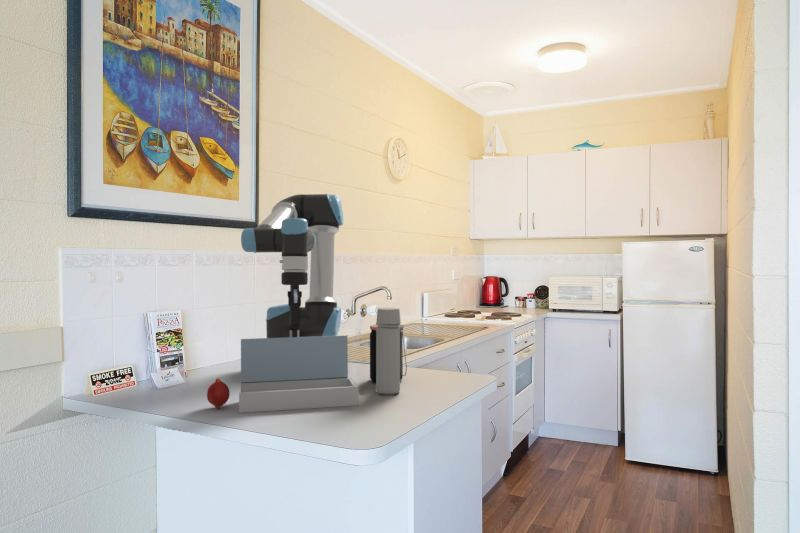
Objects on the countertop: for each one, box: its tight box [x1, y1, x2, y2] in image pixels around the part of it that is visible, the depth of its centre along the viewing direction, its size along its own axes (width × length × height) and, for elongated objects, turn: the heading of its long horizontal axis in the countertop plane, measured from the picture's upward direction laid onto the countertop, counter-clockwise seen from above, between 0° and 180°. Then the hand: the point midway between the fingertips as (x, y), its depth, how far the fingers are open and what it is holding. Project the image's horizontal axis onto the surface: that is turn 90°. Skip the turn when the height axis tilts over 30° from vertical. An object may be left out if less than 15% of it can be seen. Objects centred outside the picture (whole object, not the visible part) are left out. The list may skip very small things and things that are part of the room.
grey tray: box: [238, 377, 360, 414], centre depth 153 cm, size 12×31×5 cm, turn 104°
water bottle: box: [375, 307, 408, 396], centre depth 165 cm, size 9×8×25 cm
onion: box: [206, 377, 230, 409], centre depth 148 cm, size 6×6×8 cm
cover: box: [240, 335, 349, 384], centre depth 160 cm, size 1×30×13 cm, turn 104°
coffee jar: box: [369, 324, 404, 384], centre depth 181 cm, size 11×11×18 cm
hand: (294, 352), depth 162 cm, fingers closed
